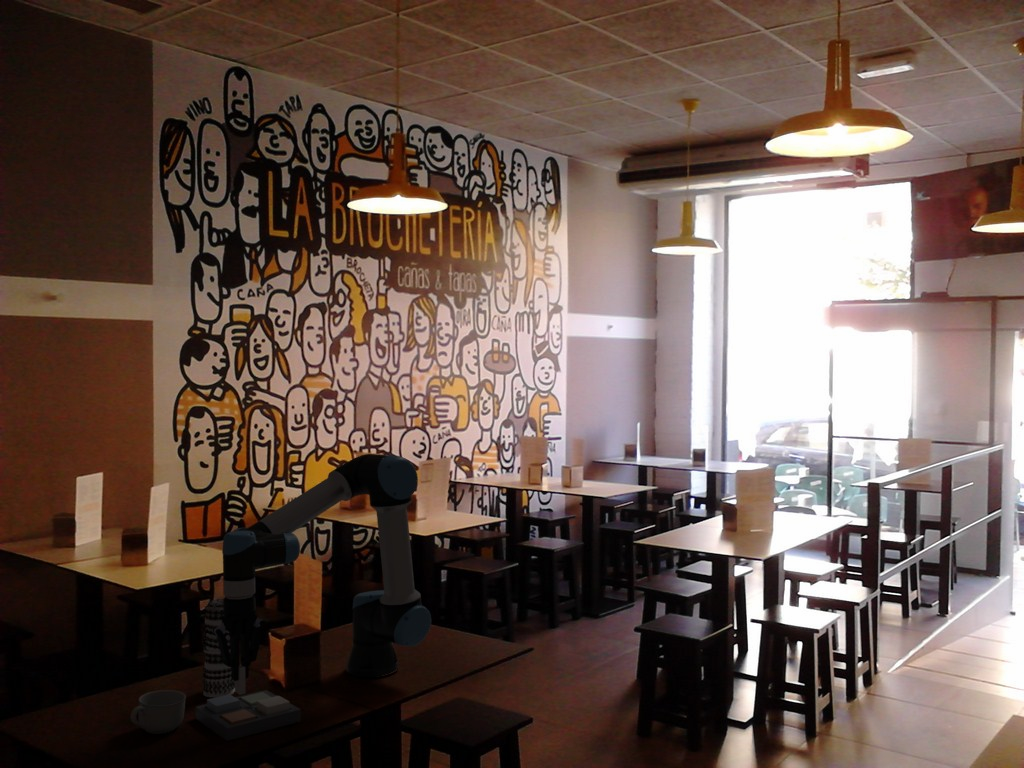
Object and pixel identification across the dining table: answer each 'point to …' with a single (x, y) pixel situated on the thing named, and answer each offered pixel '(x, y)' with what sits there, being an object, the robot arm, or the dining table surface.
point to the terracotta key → (238, 717)
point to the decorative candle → (215, 654)
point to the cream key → (272, 705)
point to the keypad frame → (248, 726)
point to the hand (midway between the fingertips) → (240, 692)
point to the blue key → (223, 704)
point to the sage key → (254, 698)
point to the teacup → (159, 711)
